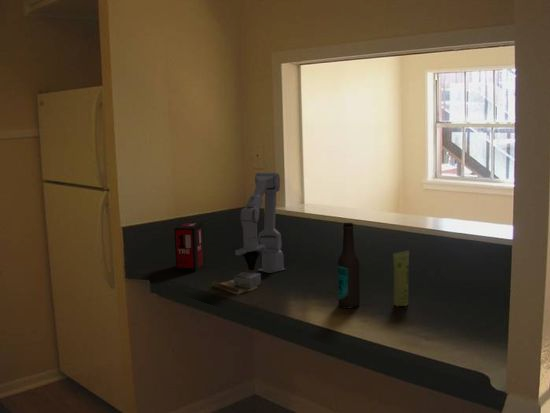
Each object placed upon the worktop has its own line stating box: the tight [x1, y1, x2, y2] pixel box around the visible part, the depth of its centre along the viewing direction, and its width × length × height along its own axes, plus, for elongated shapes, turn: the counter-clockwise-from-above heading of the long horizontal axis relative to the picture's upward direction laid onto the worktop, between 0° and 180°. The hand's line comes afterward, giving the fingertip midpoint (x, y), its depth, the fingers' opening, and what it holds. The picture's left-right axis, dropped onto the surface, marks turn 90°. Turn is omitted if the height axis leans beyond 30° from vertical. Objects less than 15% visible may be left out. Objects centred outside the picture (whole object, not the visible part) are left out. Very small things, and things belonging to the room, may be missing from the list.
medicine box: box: [233, 271, 262, 289], centre depth 248 cm, size 8×4×9 cm
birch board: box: [212, 279, 259, 295], centre depth 248 cm, size 11×16×2 cm
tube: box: [392, 250, 410, 307], centre depth 218 cm, size 6×5×20 cm
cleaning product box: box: [173, 221, 206, 273], centre depth 284 cm, size 16×9×20 cm, turn 172°
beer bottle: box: [337, 222, 361, 309], centre depth 218 cm, size 8×8×30 cm
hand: (251, 269), depth 253 cm, fingers closed
